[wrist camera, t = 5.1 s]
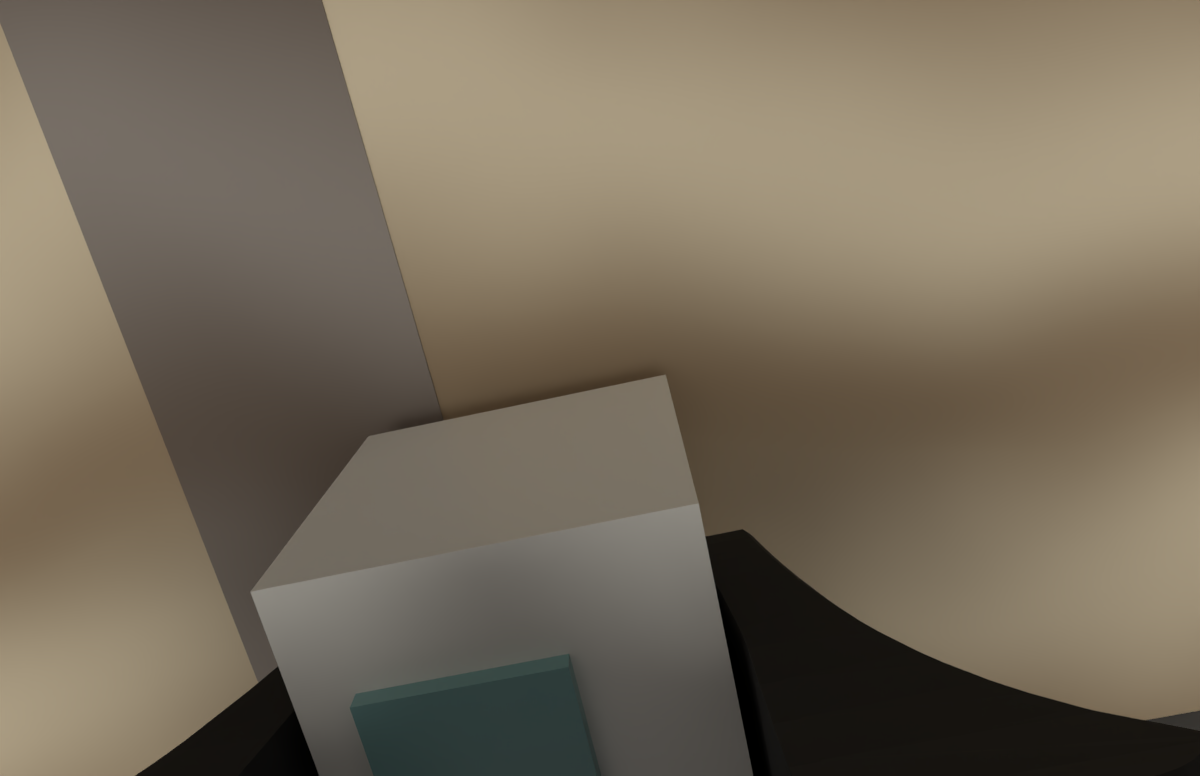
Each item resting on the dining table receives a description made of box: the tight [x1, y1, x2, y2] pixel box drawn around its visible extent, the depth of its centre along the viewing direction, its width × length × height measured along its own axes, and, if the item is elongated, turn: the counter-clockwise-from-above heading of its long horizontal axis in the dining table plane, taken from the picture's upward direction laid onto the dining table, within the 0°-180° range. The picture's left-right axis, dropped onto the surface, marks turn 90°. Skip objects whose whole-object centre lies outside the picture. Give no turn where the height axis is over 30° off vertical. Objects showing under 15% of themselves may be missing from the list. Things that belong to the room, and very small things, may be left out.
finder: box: [250, 375, 753, 776], centre depth 10 cm, size 6×4×4 cm, turn 12°
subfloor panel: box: [0, 0, 1200, 776], centre depth 13 cm, size 14×22×1 cm, turn 103°
